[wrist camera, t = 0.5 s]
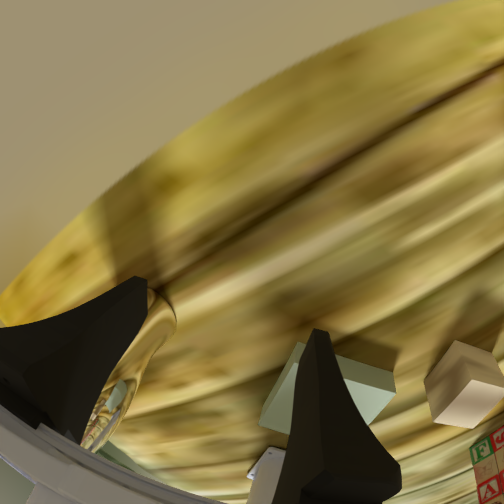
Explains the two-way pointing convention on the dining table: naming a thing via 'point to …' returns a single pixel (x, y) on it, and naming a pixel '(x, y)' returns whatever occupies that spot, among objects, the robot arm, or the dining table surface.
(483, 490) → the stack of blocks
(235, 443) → the dining table surface
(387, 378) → the green slab
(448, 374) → the ash cube
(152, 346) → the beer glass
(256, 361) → the dining table surface
